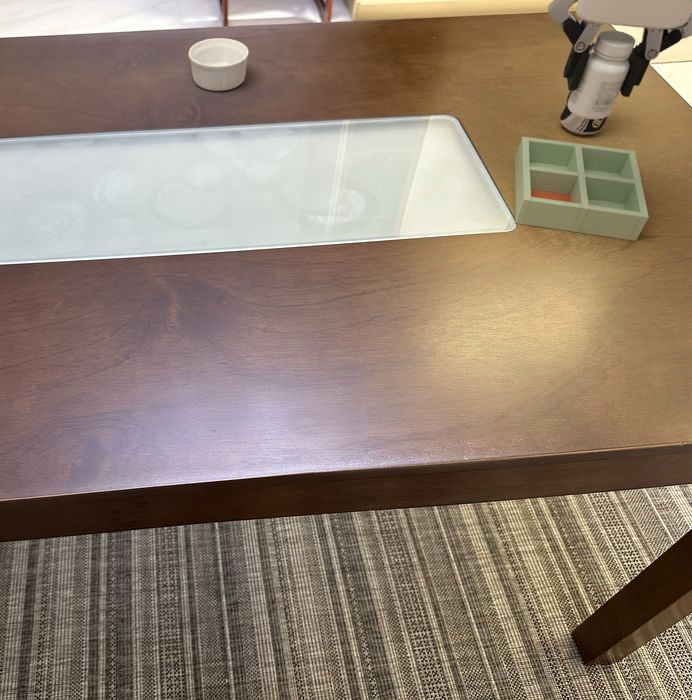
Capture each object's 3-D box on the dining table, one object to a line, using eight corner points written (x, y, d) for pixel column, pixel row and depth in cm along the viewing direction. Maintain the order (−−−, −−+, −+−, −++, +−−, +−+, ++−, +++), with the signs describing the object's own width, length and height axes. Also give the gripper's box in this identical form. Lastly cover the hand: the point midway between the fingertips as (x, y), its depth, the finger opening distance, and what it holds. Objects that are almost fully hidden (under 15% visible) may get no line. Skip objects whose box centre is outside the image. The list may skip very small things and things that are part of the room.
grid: (623, 174, 93) (635, 150, 90) (635, 241, 84) (649, 217, 81) (514, 159, 95) (522, 136, 92) (515, 223, 86) (524, 199, 84)
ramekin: (182, 90, 107) (181, 62, 104) (198, 61, 113) (197, 34, 110) (240, 97, 106) (241, 69, 103) (253, 68, 111) (254, 40, 108)
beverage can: (576, 142, 98) (611, 56, 89) (549, 121, 101) (580, 36, 92) (610, 133, 99) (648, 48, 90) (582, 112, 102) (615, 28, 93)
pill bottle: (616, 108, 77) (648, 37, 71) (599, 125, 74) (630, 52, 69) (577, 94, 79) (604, 23, 73) (559, 110, 76) (585, 38, 71)
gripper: (777, -122, 62) (678, 79, 76) (571, -135, 65) (512, 61, 78) (801, -92, 57) (690, 116, 71) (577, -108, 60) (512, 95, 74)
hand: (597, 85), depth 74 cm, fingers closed on pill bottle, 4 cm apart
